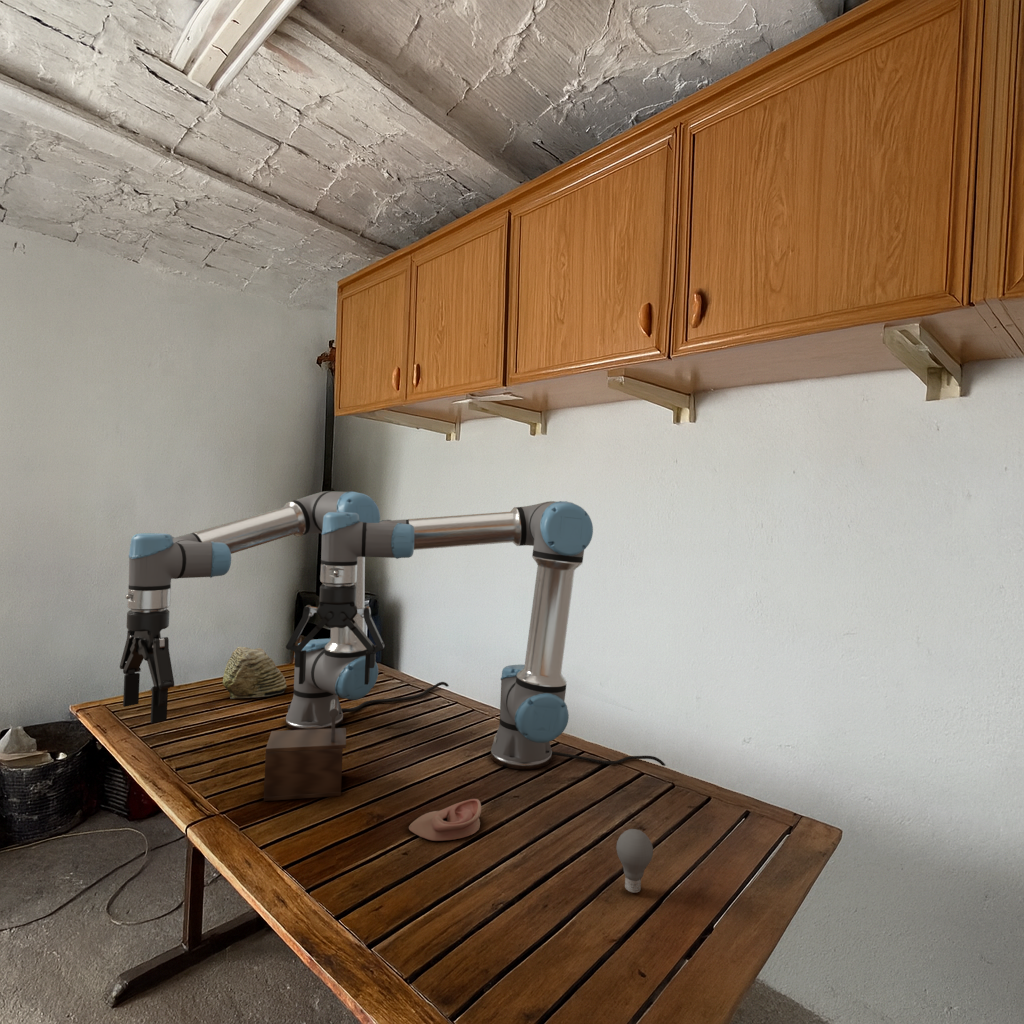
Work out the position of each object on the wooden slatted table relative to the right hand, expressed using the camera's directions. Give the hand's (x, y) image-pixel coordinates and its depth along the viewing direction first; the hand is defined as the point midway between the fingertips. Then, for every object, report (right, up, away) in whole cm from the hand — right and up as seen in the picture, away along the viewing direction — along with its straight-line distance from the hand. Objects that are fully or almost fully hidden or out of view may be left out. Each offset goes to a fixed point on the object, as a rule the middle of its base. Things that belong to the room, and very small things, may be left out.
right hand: (334, 682), depth 136 cm
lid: (-6, -13, +1) cm, 15 cm away
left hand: (-37, -4, -7) cm, 38 cm away
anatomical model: (+25, -25, -12) cm, 38 cm away
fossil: (-42, -21, +62) cm, 78 cm away
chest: (-7, -23, +1) cm, 24 cm away
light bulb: (+58, -27, -30) cm, 71 cm away
